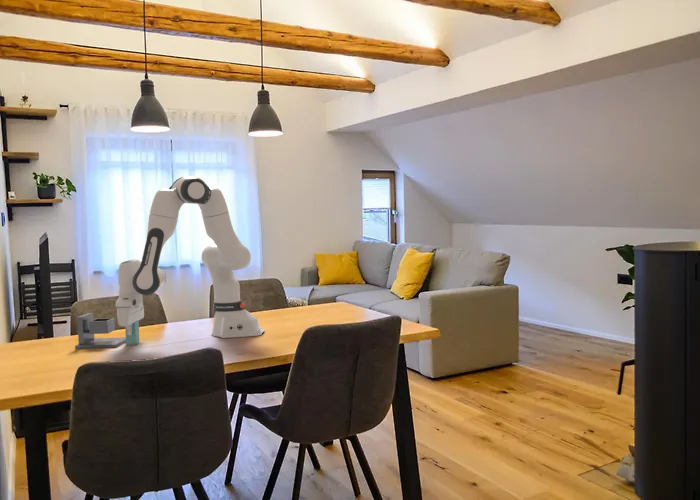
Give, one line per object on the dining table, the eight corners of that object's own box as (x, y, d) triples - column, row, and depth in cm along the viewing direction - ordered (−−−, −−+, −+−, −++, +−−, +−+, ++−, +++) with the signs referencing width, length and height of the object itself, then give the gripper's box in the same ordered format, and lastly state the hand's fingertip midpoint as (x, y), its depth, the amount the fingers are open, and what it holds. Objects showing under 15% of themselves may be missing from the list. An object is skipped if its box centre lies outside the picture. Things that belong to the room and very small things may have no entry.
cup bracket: (129, 340, 236) (127, 311, 235) (116, 347, 222) (115, 316, 221) (90, 341, 236) (89, 312, 235) (75, 348, 222) (73, 317, 221)
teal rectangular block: (139, 342, 231) (138, 320, 231) (136, 344, 227) (135, 322, 227) (129, 342, 231) (128, 320, 231) (126, 344, 227) (125, 322, 227)
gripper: (132, 296, 239) (133, 328, 239) (113, 303, 218) (115, 338, 219) (147, 295, 239) (148, 328, 239) (130, 303, 218) (131, 338, 219)
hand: (132, 333), depth 229 cm, fingers closed on teal rectangular block, 4 cm apart
